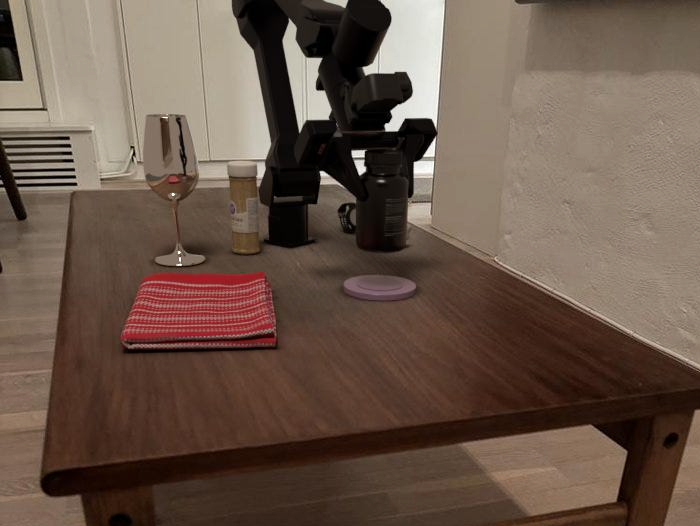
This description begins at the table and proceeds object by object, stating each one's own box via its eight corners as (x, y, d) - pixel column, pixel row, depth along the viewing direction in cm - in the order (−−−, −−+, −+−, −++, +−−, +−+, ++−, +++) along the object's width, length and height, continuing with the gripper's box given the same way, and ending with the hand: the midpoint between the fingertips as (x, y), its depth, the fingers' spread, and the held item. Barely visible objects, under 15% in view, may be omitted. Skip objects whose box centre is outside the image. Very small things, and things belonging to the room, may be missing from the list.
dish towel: (270, 289, 101) (270, 269, 99) (280, 349, 80) (279, 326, 79) (141, 291, 98) (139, 271, 97) (118, 354, 78) (114, 330, 77)
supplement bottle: (404, 242, 102) (410, 148, 96) (407, 255, 96) (413, 155, 90) (355, 241, 102) (357, 146, 96) (354, 253, 96) (356, 153, 90)
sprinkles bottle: (226, 251, 118) (220, 161, 112) (247, 247, 121) (243, 159, 115) (245, 256, 116) (240, 164, 109) (266, 252, 119) (263, 162, 112)
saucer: (373, 276, 108) (373, 270, 107) (430, 289, 102) (430, 283, 102) (328, 290, 101) (328, 283, 100) (386, 305, 95) (386, 298, 95)
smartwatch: (343, 235, 131) (344, 205, 129) (336, 229, 136) (336, 200, 133) (365, 234, 132) (366, 205, 130) (357, 228, 137) (358, 200, 134)
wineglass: (194, 268, 109) (181, 118, 99) (145, 265, 110) (127, 116, 100) (213, 256, 115) (203, 114, 105) (167, 253, 117) (152, 112, 107)
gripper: (302, 43, 86) (344, 158, 83) (436, 47, 94) (477, 153, 91) (277, 112, 96) (314, 217, 93) (400, 111, 104) (437, 207, 101)
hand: (387, 198), depth 94 cm, fingers closed on supplement bottle, 7 cm apart
